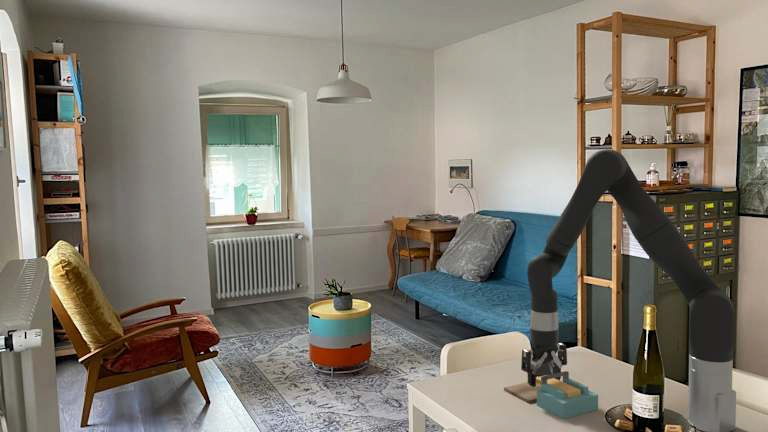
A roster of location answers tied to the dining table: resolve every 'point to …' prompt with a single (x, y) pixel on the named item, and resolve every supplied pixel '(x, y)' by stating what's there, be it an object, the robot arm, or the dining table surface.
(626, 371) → the dining table surface
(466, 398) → the dining table surface
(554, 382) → the ticket card
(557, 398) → the ticket dispenser
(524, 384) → the walnut mat
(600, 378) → the dining table surface
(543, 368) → the phone
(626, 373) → the dining table surface
